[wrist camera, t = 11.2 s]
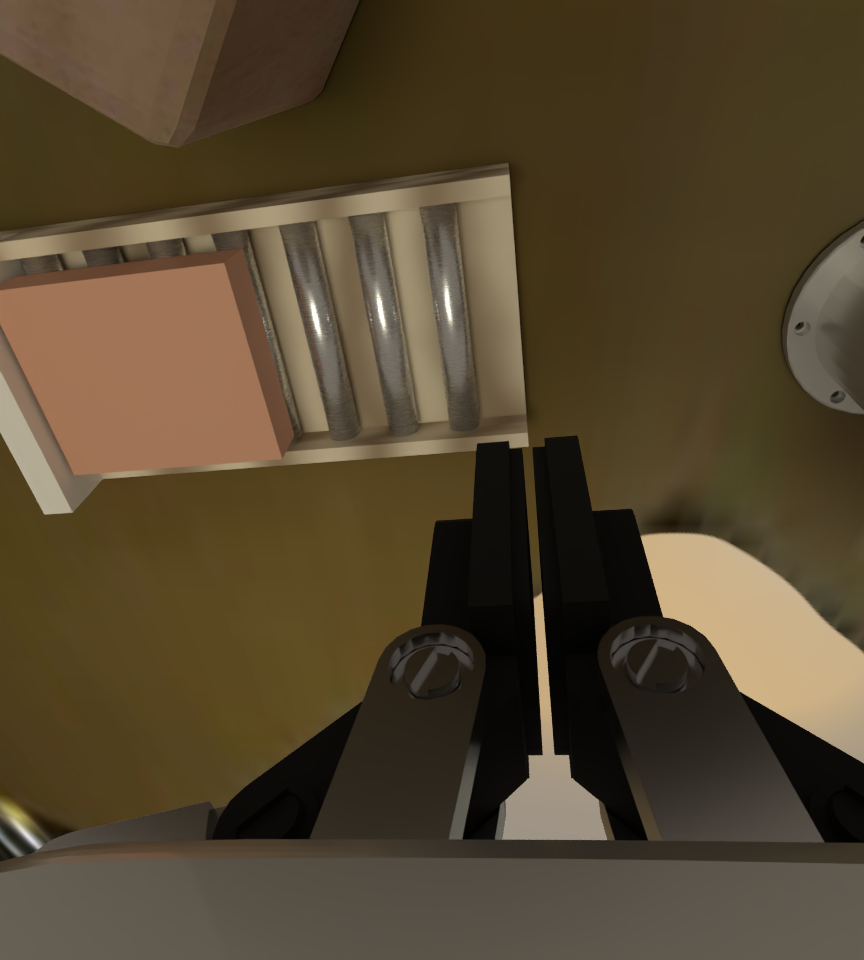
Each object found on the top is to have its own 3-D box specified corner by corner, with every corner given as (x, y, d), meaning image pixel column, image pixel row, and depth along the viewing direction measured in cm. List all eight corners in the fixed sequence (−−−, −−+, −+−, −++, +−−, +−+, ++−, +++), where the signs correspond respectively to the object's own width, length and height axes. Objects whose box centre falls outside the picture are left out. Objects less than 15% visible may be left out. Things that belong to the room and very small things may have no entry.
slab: (242, 248, 38) (224, 263, 36) (294, 435, 45) (282, 459, 42) (16, 276, 40) (-16, 292, 38) (97, 451, 47) (74, 475, 44)
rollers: (456, 197, 38) (454, 205, 36) (480, 415, 45) (479, 429, 43) (32, 252, 42) (12, 261, 40) (117, 445, 49) (103, 460, 47)
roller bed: (508, 162, 38) (509, 174, 35) (526, 417, 47) (528, 446, 43) (-7, 232, 43) (-50, 249, 39) (95, 452, 51) (67, 481, 48)
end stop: (18, 232, 41) (-55, 262, 36) (119, 460, 49) (72, 512, 44) (-12, 236, 41) (-89, 267, 36) (94, 462, 50) (44, 514, 44)
